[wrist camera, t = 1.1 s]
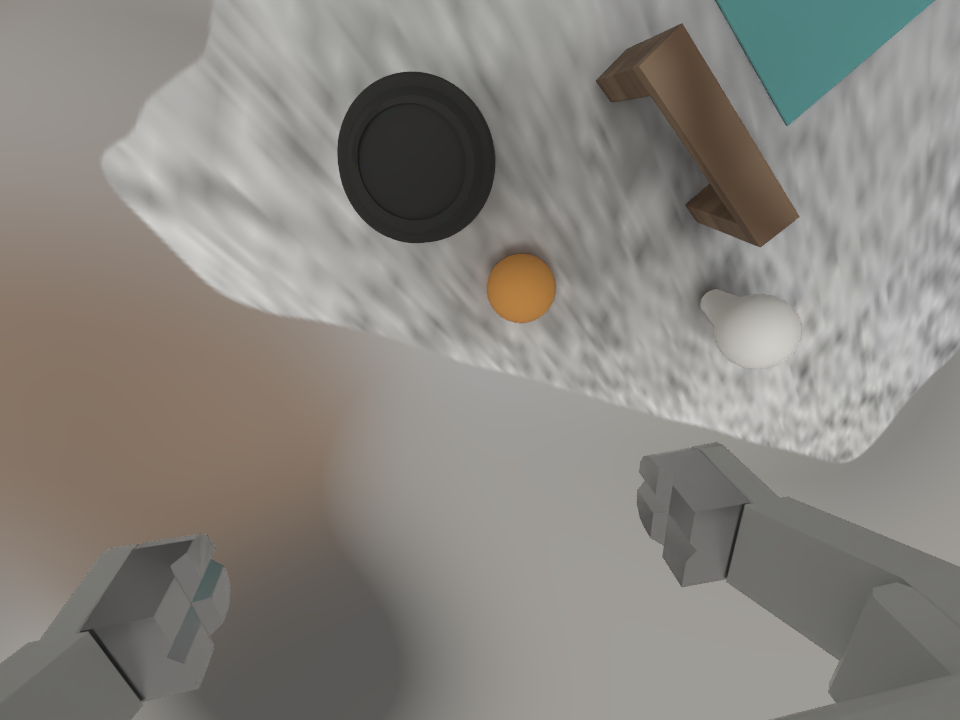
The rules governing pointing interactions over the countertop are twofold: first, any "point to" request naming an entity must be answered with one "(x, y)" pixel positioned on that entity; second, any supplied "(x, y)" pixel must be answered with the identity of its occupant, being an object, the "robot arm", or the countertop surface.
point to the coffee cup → (415, 157)
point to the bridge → (705, 135)
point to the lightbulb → (752, 328)
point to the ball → (521, 288)
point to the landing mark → (812, 42)
